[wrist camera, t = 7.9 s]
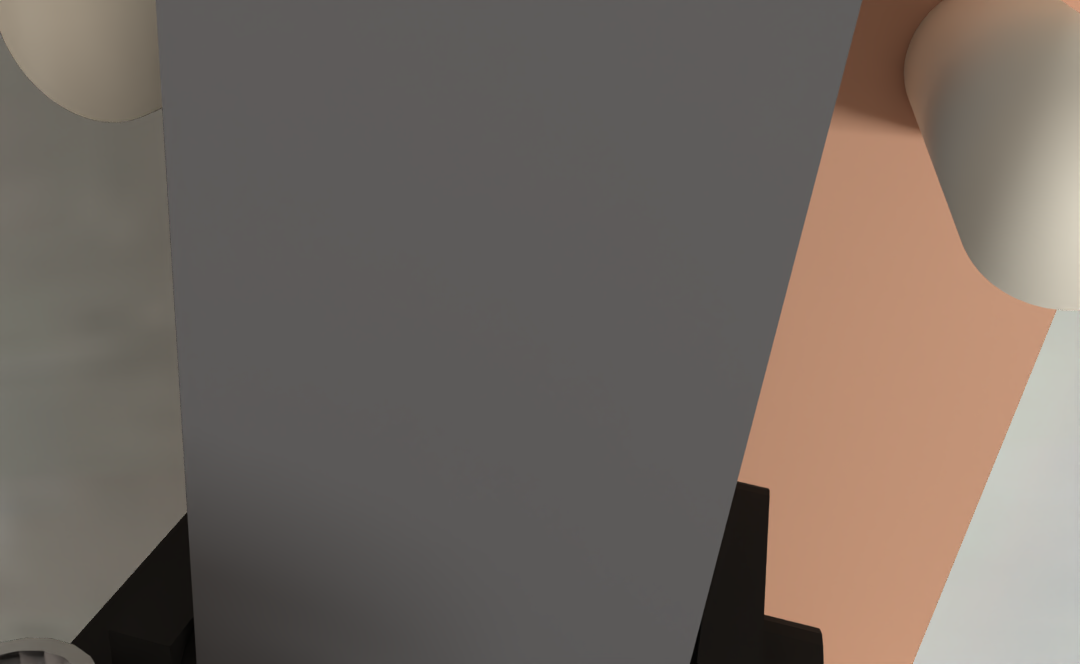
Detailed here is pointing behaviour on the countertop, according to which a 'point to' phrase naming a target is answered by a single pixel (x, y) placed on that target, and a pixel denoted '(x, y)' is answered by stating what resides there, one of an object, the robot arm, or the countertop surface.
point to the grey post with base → (478, 312)
